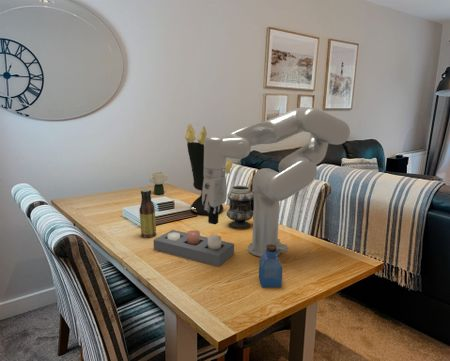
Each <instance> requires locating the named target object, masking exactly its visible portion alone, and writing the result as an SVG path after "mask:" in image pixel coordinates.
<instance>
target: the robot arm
mask: <svg viewBox="0 0 450 361" xmlns="http://www.w3.org/2000/svg"><path fill="white" fill-rule="evenodd" d="M300 133H310V135H309V139H308V141H307V143H305V145H303V146H301V147H299V149H297V150H295V151H293V152H291V153H290V154H288V155H287V156H285V157H283V158H282V159H281V160H280V162H279V164H278V171H277V170H274V169H271V168H267V167H263V168H261V169H258V170H257V171H256V172H255V174H254V175H253V177H252V182H251V183H252V184H251V185H252V193H253V210H252V212H253V217H252V238H251V239H252V240H251V243H250V244H249V245H248V246H247V251H248V252H249V253H250V254H251V255H253V256H255V257H260V258H261V257H262V255H263V254H266V249H267V247H266V246H267V245H269V244H272V245H276V246H277V248H276V250H277V256H279V255H280V254H281V253H288V250H289V247H288V245H287V244H283V243H281V239H280V238H279V222H280V202H281V201H285V200H287V199H289V198H291V197H292V196H294V195H295V194H297V193H298V192H300V191H302V190H303V189H304V188H306V187H308V186H309V185H311V184H312V183H313V181H314V180H315V179H316V176H317V173H318V168H317V165H318V164H320V163H321V162H322V161H323V160H324V159H325V157H326V155H327V151H328V147H329V145H337V146H338V145H342V144H345V143H346V142H347V141H348V140H349V138H350V135H351V130H350V126H349V124H348V123H347V122H346V121H344V120H342V119H341V118H338V117H336V116H334V115H331V114H329V113H327V111H323V110H321V109H319V108H317V107H307V106H306V107H305V106H301V107H296V108H294V109H291V110H289V111H287V112H284V113H281V114H279V115H277V116H275V117H272V118H269V119H267V120H265V121H260V122H258V123H255V124H252V125H249V126H246V127H243V128H240V129H237V130H235V131H233V132H230V133H229V134H227V135H225V136H224V137H223V136H220V135H210V136H209V135H208V136H206V138H205V140H204V181H203V190H202V204H203V205H204V206H205V208H204V210H206V211H208V215H207V216H208V218H207V223H208V224H210V225H211V224H212V225H217V224H219V214H220V213H218V212H219V209H220V205H221V204H222V205H224V203H226V202H227V199H228V197H227V195H228V193H227V192H228V191H227V190H228V189H227V178H226V174H225V172H226V163H227V159H231V158H232V159H235V160H242V159H245V158H246V157H248V156H249V155H250V153H251V151H252V150H251V148H252V147H253V146H258V145H259V146H260V145H271V144H277V143H279V142H281V141H284V140H286V139H288V138H290V137H293V136H295V135H297V134H300Z"/></svg>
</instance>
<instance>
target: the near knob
mask: <svg viewBox="0 0 450 361" xmlns="http://www.w3.org/2000/svg"><path fill="white" fill-rule="evenodd" d="M207 238H208V249H211V250H215V251H218V250H219V249H221V241H222V236H221V235H218V234H212V235H208V237H207Z"/></svg>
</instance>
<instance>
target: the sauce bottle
mask: <svg viewBox="0 0 450 361" xmlns="http://www.w3.org/2000/svg"><path fill="white" fill-rule="evenodd" d="M140 194H141V201H140V202H141V203H140V206H139V212H138V213H139V220H140V221H139V224H140V225H139V226H140V233H141V236H142V237H143V238H147V239H148V238H153V237H156V235H157V224H156V223H157V222H156V210H155V204H154V202H153V201H152V190H151V189H150V188H143V189H142V188H141V189H140Z"/></svg>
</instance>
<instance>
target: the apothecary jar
mask: <svg viewBox="0 0 450 361" xmlns="http://www.w3.org/2000/svg"><path fill="white" fill-rule="evenodd" d="M227 199H228V200H229V207H228V209H227V210H226V216H227V218H228V219H230V220H232V221H231V222H230V223H229V224H228V226H229V227H230V228H231V229H235V230H246V229H249V228H250V227H251V223H249V222H248V221H250V220H251V219H253V210H252V206H251V205H252V200H254V197H253V191H251V188H250V187H249V186H247V185H239V184H238V185H232V186H231V187H230V191H228V193H227Z"/></svg>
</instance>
